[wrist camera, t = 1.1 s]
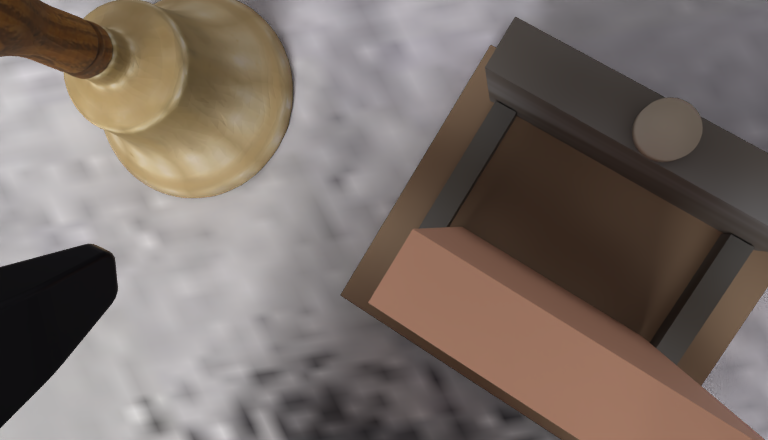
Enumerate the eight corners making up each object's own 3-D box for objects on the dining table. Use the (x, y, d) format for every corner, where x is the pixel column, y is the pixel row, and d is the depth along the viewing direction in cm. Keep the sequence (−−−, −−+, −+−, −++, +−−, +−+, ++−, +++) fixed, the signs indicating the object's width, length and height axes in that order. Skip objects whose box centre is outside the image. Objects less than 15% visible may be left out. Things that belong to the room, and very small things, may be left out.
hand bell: (318, 19, 26) (19, -303, 10) (262, 222, 26) (-111, 220, 10) (133, -25, 27) (-380, -366, 11) (82, 168, 28) (-480, 93, 12)
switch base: (627, 473, 23) (674, 573, 17) (348, 292, 25) (290, 316, 19) (795, 222, 22) (917, 221, 16) (491, 53, 24) (485, -11, 18)
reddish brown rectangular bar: (617, 373, 22) (742, 545, 10) (439, 262, 23) (367, 302, 11) (641, 336, 22) (797, 466, 10) (461, 226, 23) (412, 228, 11)
